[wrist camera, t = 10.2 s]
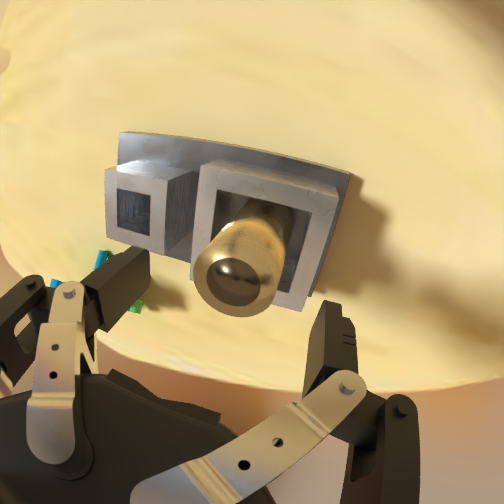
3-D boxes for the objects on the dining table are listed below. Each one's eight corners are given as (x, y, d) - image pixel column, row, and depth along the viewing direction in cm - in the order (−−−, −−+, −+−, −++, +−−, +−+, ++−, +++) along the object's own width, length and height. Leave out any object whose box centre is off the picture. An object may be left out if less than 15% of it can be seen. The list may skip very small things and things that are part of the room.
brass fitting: (243, 190, 19) (195, 233, 12) (299, 204, 18) (285, 257, 11) (234, 241, 21) (190, 303, 14) (286, 254, 20) (266, 326, 13)
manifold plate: (128, 131, 20) (90, 137, 16) (348, 171, 18) (357, 185, 14) (125, 235, 25) (94, 256, 20) (311, 289, 22) (308, 325, 18)
